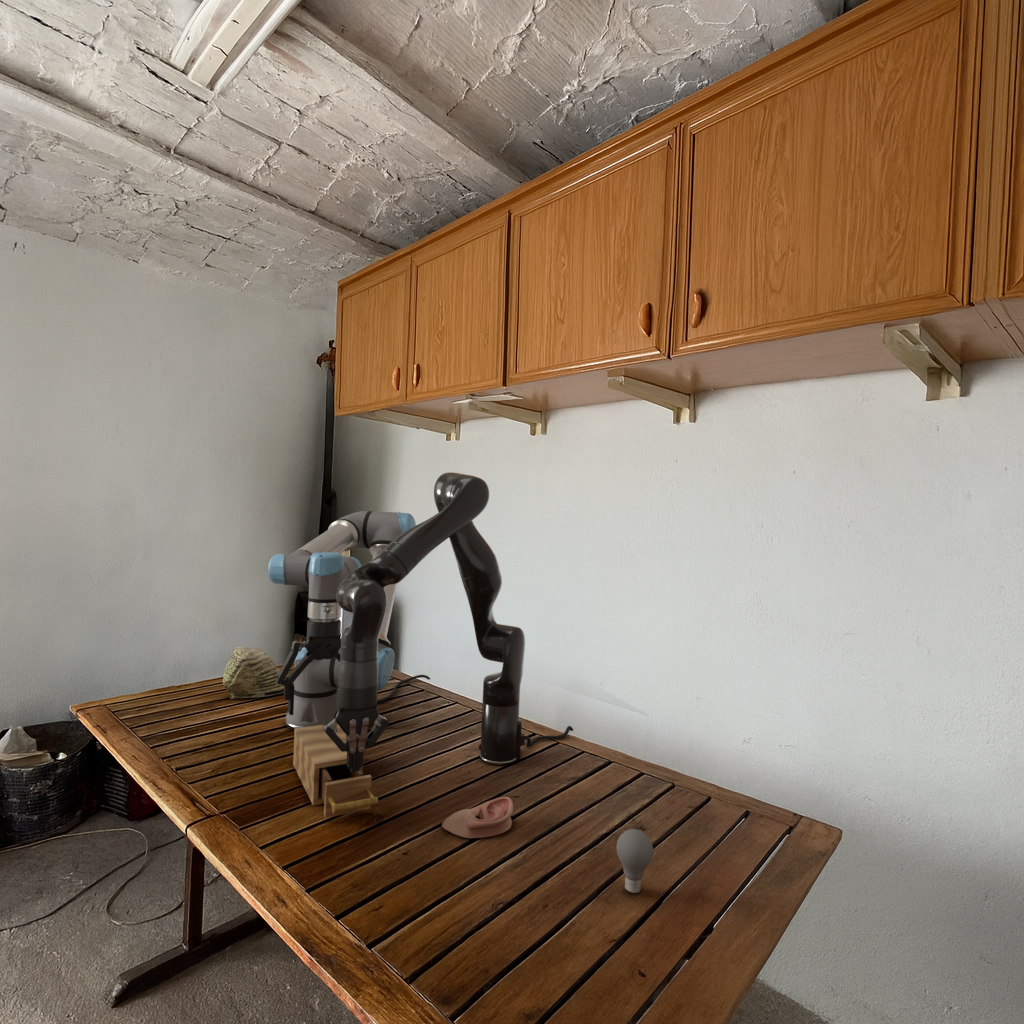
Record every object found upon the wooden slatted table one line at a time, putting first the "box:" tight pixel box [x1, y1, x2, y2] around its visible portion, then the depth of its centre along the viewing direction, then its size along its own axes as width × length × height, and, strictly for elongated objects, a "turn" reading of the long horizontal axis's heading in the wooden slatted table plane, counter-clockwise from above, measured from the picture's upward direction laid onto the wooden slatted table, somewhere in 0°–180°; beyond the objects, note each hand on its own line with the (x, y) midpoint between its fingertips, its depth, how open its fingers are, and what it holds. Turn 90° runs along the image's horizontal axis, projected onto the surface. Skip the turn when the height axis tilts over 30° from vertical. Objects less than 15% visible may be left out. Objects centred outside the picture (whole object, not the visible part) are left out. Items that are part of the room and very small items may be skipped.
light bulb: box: [615, 828, 654, 894], centre depth 106 cm, size 6×6×10 cm
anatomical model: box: [441, 796, 514, 839], centre depth 125 cm, size 13×4×12 cm
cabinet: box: [292, 724, 364, 806], centre depth 142 cm, size 22×10×9 cm, turn 29°
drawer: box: [319, 764, 379, 819], centre depth 132 cm, size 26×9×6 cm, turn 29°
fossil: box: [222, 646, 284, 699], centre depth 198 cm, size 9×18×15 cm, turn 132°
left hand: (320, 709), depth 148 cm, fingers open, 13 cm apart
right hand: (354, 769), depth 123 cm, fingers closed
